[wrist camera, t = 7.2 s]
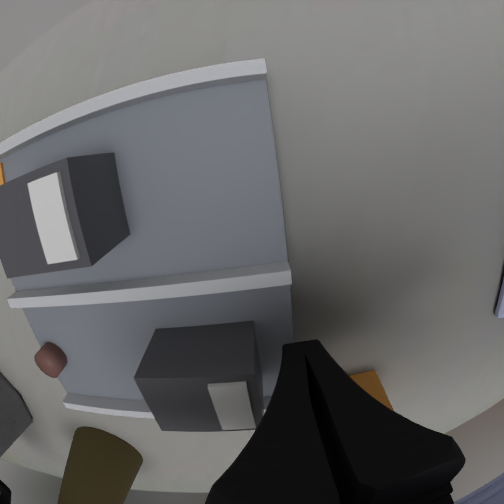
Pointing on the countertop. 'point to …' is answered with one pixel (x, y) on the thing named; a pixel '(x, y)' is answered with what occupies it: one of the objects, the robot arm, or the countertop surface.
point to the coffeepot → (10, 424)
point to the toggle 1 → (61, 216)
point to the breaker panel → (163, 230)
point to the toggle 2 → (203, 378)
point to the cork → (98, 469)
